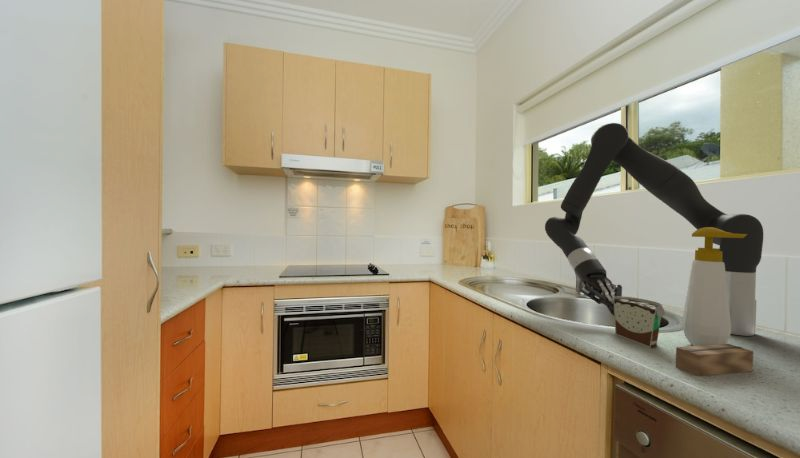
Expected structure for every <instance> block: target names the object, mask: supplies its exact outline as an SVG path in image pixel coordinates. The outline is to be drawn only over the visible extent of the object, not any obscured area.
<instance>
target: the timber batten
mask: <svg viewBox="0 0 800 458" xmlns="http://www.w3.org/2000/svg"><path fill="white" fill-rule="evenodd" d="M675 349H676V350H675V368H678V369H681V370H683V371H685V372H687V373H691V374H693V375H695V376H697V377H699V376H700V377H701V376H712V375H721V374H722V375H723V374H735V373H744V372H746V373H747V372H753V371H754V368H753V366H754V351H753V350H750V349H747V348H744V347H742V346H737V345H734V344H730V343H726V344H718V345H702V346H693V345H691V346H688V345H687V346H677V347H676V348H675Z"/></svg>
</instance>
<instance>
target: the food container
mask: <svg viewBox="0 0 800 458" xmlns="http://www.w3.org/2000/svg"><path fill="white" fill-rule="evenodd" d="M612 304H614V316H613V318H614V332H615V333H614V334H615V335H616V336H618V337H621V338H623V339H626V340H629V341H632V342H634V343H637V344H639V345H642V346H644V345H645V346H644V347H646V348H649V349H653V348H656V347H657V344H658V338H659V333H660V326H661V321H662V320H661V319H662V317H663V316H665V315H666V312H665V308H664V306H663V304H661V302H657V301H654V300H650V299H649V300H648V299H644V298H639V297H632V296H631V297H630V296H623V295H622V296H613V299H612Z"/></svg>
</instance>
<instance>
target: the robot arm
mask: <svg viewBox="0 0 800 458" xmlns="http://www.w3.org/2000/svg"><path fill="white" fill-rule="evenodd" d="M590 144H591V146H590V150H589V152H588V156H587V158H586V160H585V161H584V164H583V166H582V168H581V169H580V171H579V173H578V175H577V176H576V177H575V179H574V181H572V183H571V185H570V187H569V188H568V190H567V192H566V194H565V196H564V198H563V200H562V201H561V204H560V209H561V210H562V211H563V212H564V213H565V216H564V218H562V217H559V216H552V217H549V218H548V219H547V220H546V221H545V223H544V230H545V233H546V235H547V237H548V238H549V239H550V240H551V241H552V242H553V243H554V245H556V246H557V247H558V248H560V249H561V250H562V252H563V254H564V256H565V257H566V259H567V261H568V263H569V265H570V266H571V268H572V270H573V272H574V273H575V275H576V276H577V278H578V280H579V281H580V283H582V284H583V285H584V286H583V287H582V288H581V289H580V292H581V293H582V294H584V295H585V296H587V297H588V298H590V299H591V300H592V301H594V302H595V303H597V304H599V305H603V306H605V307H607V309H608V311H609V312H610V314H611V315H612V316H613V317H614V304H612V299H613V296H622V297H623V295H622V294H623V286H622V285H621V284H617V285H616V284H614V283H613V281H611V279H609V278H608V276H607V270H606V269H605V267H604V266H603V264H601V261H599V259H598V258H597V257H596V255H595V254H594V252H593V251H592V250H590V248H589V247H588V245H587V244H586V242H585V241H584V240H583V238H581V237H580V236H578V235H576V234H577V233H578V231H579V229H580V225H581V220H582V218H583V216H582V215H583V213H584V210H585V208H586V207H587V205H588V204H589V201H590V200H591V197H592V196H593V194H594V192H595V190H596V188H597V186H598V184H599V182H600V181H601V178H603V175H604V174H605V172H606V171H607V169H608V167H609V166H610V164H611V163H612V162H614V163H616V164H617V165H619V166H621V168H623V169H624V170H625V171H626V172H627V173H628V174H629V175H630V176H631V177H632V179H634V180H635V181H636V182H637V183H638V184H639V185H641V187H642V188H644V189H645V190H646V191H647V192H649V193H650V194H652V195H653V196H654V197H656V199H658V200H659V201H661V202H662V203H664V204H665V205H666V206H668V207H669V208H670V209H672V210H673V211H674V212H676V213H677V214H679V215H680V216H681V217H683V218H684V219H685V220H686V221H688V222H689V224H691V225H692V226H693V227H694V228H695V229H696V230H698V229H701V228H705V227H713V228H717V229H720V230H723V231H725V232H729V233H733V234H747V235H746V236H745V237H744V238H723V237H713V245H714V244H715V245H717V246H719V248H718V249H719V251H722V262H724V264H725V273H726V283H727V292H728V302H729V311H730V321H731V334H730V335H735V336H746V337H751V336H752V337H753V336H754V335H755V334H756V328H757V327H756V326H757V323H756V322H757V299H756V283H757V282H756V281H757V279H756V278H757V267H758V266H759V264H760V262H761V260H762V254H763V253H762V252H763V245H764V228H763V225H762V223H761V222H760V220H759V219H758V218H756V216H753V215H750V214H745V213H733V214H727V213H725V212H723V211H721V209H718V208H717V207H716V206H714V205H713V204H711V203H710V202H709V201H707V200H706V198H704V196H703V195H702V193H701V192H700V189H699V187H698V185H697V184H696V183H695V181H694V180H693V179H692V178H691V177H690V176H689V175H687V174H686V173H685V172H684V171H682V170H681V169H679V168H678V167H677V166H675V164H672V163H671V162H669V161H668V160H665V159H664V158H662V157H660V156H658V155H656V154H654V153H652V152H649V151H648V150H646V149H644V148H643V147H642V146H640V145H639V144H637V142H635V141H634V140H633V139H632V138H630V136H629V132H628V129H627V128H626V127H625V126H624V125H623V124H622V123H619V122H618V123H617V122H610V123H605V124H603V125H601V126H600V127H598V128H597V129H595V130H594V132H592V135H591V139H590Z"/></svg>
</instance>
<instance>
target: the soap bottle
mask: <svg viewBox="0 0 800 458" xmlns="http://www.w3.org/2000/svg"><path fill="white" fill-rule="evenodd" d="M746 235H747V234H733V233H729V232H725V231H723V230H720V229H717V228H713V227H705V228H701V229H698V230H697V229H696V230H695V231H693V233H691V237H695V238H696V237H697V238H698V237H699V238H704V246H703V247H697V249H695V250H694V259H692V264H691V269H690V274H689V278H688V279H689V280H688V286H687V291H686V296H685V302H684V307H683V313H682V324H681V325H682V326H681V327H682V330H683V334H684V337H685V338H686V340H687V341H688V343H689V344H690V345H691V346H702V345H718V344H728V341H729V338H730V337H731V335H732V334H731V321H730V311H729V302H728V292H727V283H726V273H725V264H724V262H722V251H719V248H716V247H715V248H714V243H713V237H723V238H744V237H745V236H746Z"/></svg>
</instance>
